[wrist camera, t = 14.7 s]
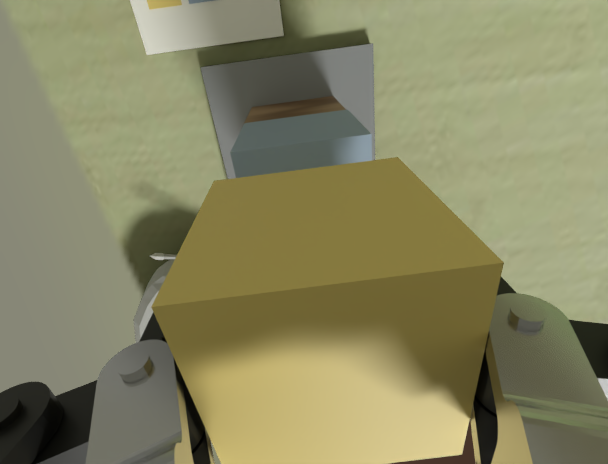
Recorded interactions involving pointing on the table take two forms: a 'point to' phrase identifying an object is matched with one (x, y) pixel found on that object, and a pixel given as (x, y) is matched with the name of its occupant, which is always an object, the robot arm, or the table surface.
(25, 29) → the table surface
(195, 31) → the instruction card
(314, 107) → the brick walnut
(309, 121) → the brick blue
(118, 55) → the table surface
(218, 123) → the base plate
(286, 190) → the yellow cube
